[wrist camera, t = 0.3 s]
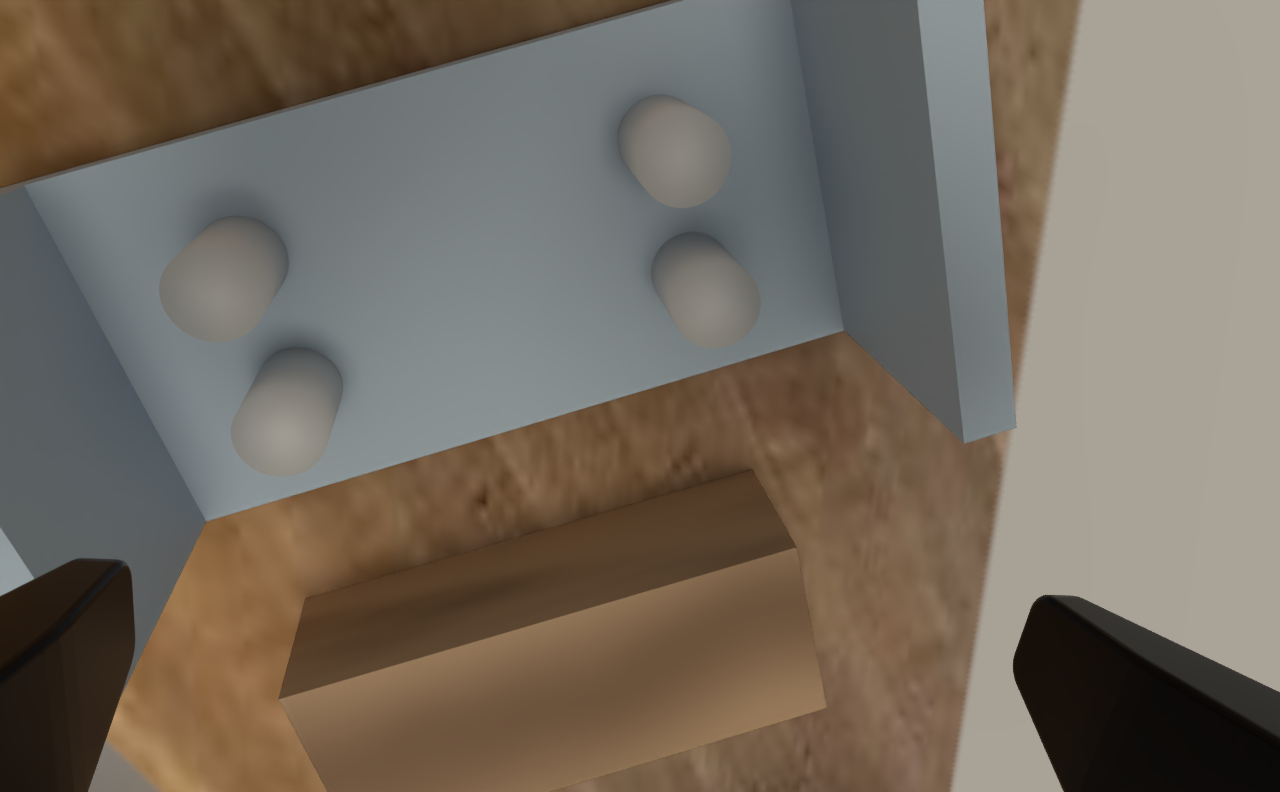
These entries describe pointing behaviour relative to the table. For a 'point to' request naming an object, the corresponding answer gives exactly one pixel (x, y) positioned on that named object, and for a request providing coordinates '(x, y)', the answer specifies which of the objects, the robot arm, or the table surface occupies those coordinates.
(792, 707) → the shelf block
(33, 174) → the table surface
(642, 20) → the peg rack
